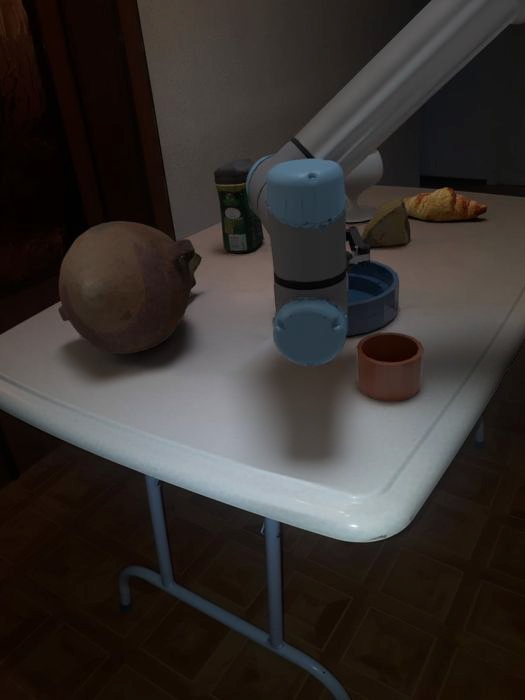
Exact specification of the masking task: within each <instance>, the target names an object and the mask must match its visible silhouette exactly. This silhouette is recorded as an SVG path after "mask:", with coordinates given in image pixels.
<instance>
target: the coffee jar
mask: <svg viewBox="0 0 525 700" xmlns="http://www.w3.org/2000/svg"><path fill="white" fill-rule="evenodd" d="M254 164H255V163H254V162H253V161H252V160H251V159H250V158H234V159H232V160H231V161H228V163H225V164H224V165H221V166H219V167H216V169H215V170H214V171H213V176H214V177H213V178H214V186H215V189H216V192H217V197H218V202H219V212H220V221H221V232H222V234H221V235H222V244H223V249H224V250H225V251H227V252H230V253H233V254H242V253H248V252H252V251H254V250H255V249H257V248H258V247H260V246H261V244H262V243H263V242H264V239H265V237H264V228H263V224H262V222H261V220H260V219H259V217H258V216H257V215H256V214H255V213H254V212H253V209H252V207H251V206H250V203H249V200H248V195H247V191H246V181H247V177H248V174H249V171H250V170H251V168H252V167H253V165H254Z"/></svg>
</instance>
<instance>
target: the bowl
mask: <svg viewBox="0 0 525 700" xmlns="http://www.w3.org/2000/svg"><path fill="white" fill-rule="evenodd" d="M348 280H349V281H348V298H347V305H348V313H347V319H348V333H347V334H346V337H350V336H351V337H352V336H357V335H362V334H367V333H370V332H372V331H375V330H377V329H379V328H383V327H384V326H386V325H387V324H388V323H390V322H391V321H392V320H394V319H395V317H396V316H397V313H398V311H399V305H400V304H399V302H400V301H399V299H400V298H399V297H400V278H399V275H398V272H396V271H395V270H394V269H393V268H392V267H390V266H389V265H386V264H384V263H381V262H379V261H376V260H373V259H372V260H371V259H370V265H369V266H361V265H360V264H354V263H353V266H352V268H351V269H349V279H348ZM273 295H274V306H275V307H274V308H276V297H275V286H274V285H273Z"/></svg>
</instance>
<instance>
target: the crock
mask: <svg viewBox="0 0 525 700" xmlns="http://www.w3.org/2000/svg"><path fill="white" fill-rule="evenodd" d="M355 351H356V355H355V357H356V385H357V388H358V389H359V391H360V392H361V393H362V394H364V395H365V396H367V397H369V398H371V399H374V400H377V401H383V402H399V401H403V400H404V401H405V400H407V399H410V398H413V397H414V396H415V395H417V394H418V393H419V392H420V390H421V388H422V384H423V369H424V352H425V349H424V346H423V344H422V342H421V341H420V340H419V339H417V338H415V337H414V336H411V335H408V334H405V333H401V332H391V331H390V332H388V331H387V332H377V333H373V334H369V335H367V336H365V337H363V338H362V339H361V340H359V342H358V343H357V345H356V350H355Z"/></svg>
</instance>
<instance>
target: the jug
mask: <svg viewBox="0 0 525 700" xmlns="http://www.w3.org/2000/svg"><path fill="white" fill-rule="evenodd" d="M202 259H203V257H202V256H201V255H200V254H198V253H197V252H196V249H195V247H194V245H193V243H192V241H191V240H190V239H187V238H185V239H184V238H183V239H179V240H175V241H174V240H173V239H172V238H171V237H170V236H169V235H168V234H166V233H164V232H163V231H162V230H159V229H158V228H155V227H152V226H150V225H147V224H144V223H140V222H135V221H127V220H126V221H125V220H123V221H122V220H115V221H108V222H102V223H100V224H96V225H94V226H91V227H90V228H88V229H87V230H86V231H84V232H83V233H81V234H80V235H79V236H77V238H75V240H74V241H73V242H72V244H71V246H70V247H69V249H68V250H67V252H66V253H65V255H64V257H63V259H62V262H61V265H60V269H59V277H58V280H59V281H58V295H59V300H60V304H61V306H59V307H58V313H59V315H60V318H61V320H62V321H63V322H68V321H69V323H70V324H71V326H72V327H73V328H74V330H75V331H76V332H77V333H78V334H79V336H81V338H83V339H84V340H85V341H87V342H88V343H89V344H91V345H93V347H96V348H98V349H100V350H102V351H104V352H107V353H110V354H112V353H113V354H132V353H139V352H144V351H146V350H149V349H152V348H154V347H156V346H157V345H160V343H162V342H164V341H165V340H167V338H169V337H170V336H171V335H172V334H173V333H174V331H175V330H176V328H177V327H178V325H179V323H180V322H181V321H182V319H183V317H184V315H185V313H186V311H187V309H188V306H189V303H190V298H191V293H192V289H193V288H194V287H195V286H196V285H197V280H196V278H195V272H196V271H197V270H198V267H199V266H200V265H201V262H202Z"/></svg>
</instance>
